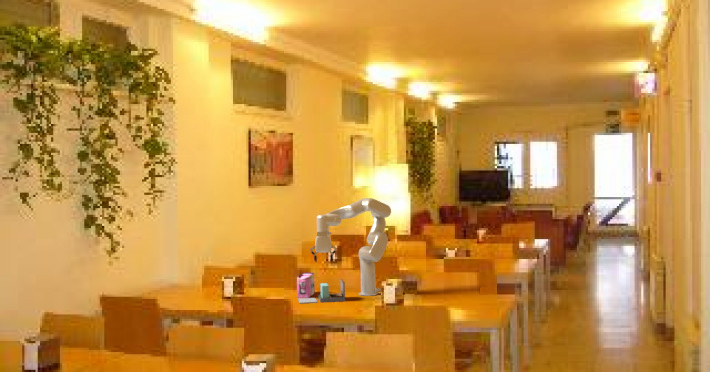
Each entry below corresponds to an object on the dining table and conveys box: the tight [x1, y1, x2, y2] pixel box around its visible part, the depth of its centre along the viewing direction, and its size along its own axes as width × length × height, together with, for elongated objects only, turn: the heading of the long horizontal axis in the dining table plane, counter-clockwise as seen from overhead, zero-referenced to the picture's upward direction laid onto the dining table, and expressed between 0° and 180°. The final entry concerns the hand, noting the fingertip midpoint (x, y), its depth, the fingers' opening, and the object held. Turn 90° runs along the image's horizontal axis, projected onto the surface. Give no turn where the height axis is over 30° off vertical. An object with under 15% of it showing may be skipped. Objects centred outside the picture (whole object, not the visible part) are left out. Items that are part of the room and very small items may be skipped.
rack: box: [317, 278, 346, 303], centre depth 515 cm, size 15×15×12 cm
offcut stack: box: [333, 292, 343, 298], centre depth 515 cm, size 4×12×4 cm, turn 12°
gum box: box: [296, 272, 316, 299], centre depth 536 cm, size 24×8×14 cm, turn 173°
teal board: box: [320, 282, 330, 298], centre depth 514 cm, size 4×12×10 cm, turn 8°
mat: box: [297, 297, 318, 305], centre depth 513 cm, size 11×16×1 cm
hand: (323, 261), depth 514 cm, fingers open, 9 cm apart
